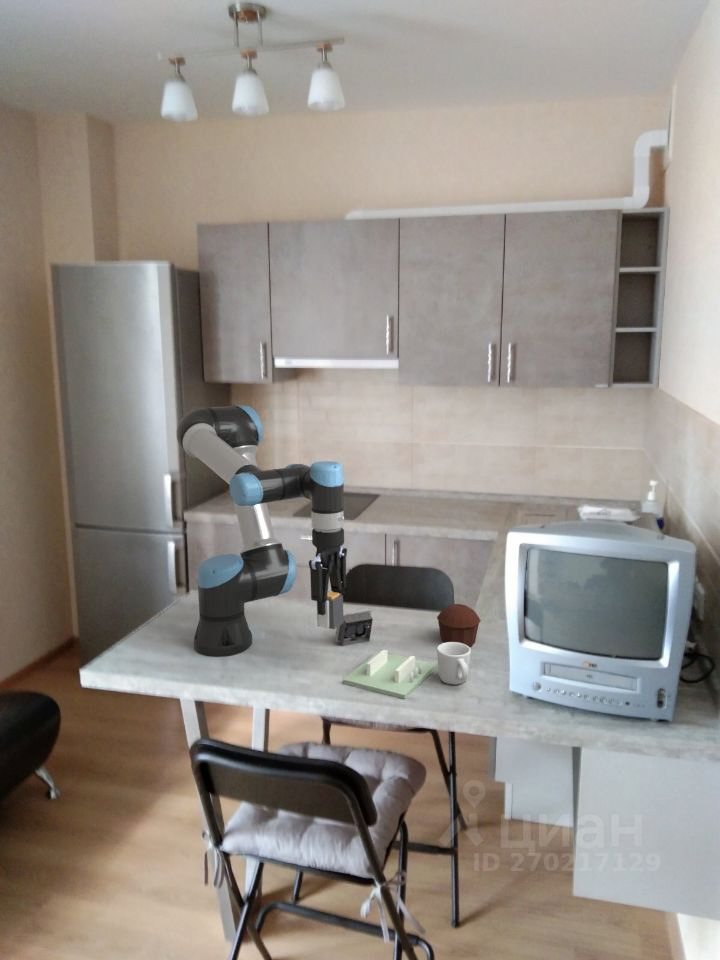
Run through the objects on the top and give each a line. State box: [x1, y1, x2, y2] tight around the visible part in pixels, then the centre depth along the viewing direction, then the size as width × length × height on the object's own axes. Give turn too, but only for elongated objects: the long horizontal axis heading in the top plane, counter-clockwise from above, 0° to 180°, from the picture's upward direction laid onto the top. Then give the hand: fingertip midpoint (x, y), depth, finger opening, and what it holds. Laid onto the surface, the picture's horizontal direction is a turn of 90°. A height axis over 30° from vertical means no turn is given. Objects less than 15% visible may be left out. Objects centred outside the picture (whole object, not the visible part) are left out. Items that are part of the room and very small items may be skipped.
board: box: [343, 649, 438, 700], centre depth 180 cm, size 16×18×4 cm
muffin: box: [436, 603, 481, 648], centre depth 199 cm, size 12×11×10 cm
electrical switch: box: [334, 607, 374, 647], centre depth 199 cm, size 9×5×9 cm, turn 113°
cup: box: [436, 642, 472, 685], centre depth 176 cm, size 11×8×8 cm
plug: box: [316, 590, 344, 630], centre depth 179 cm, size 4×4×8 cm
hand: (329, 622), depth 179 cm, fingers closed on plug, 4 cm apart
